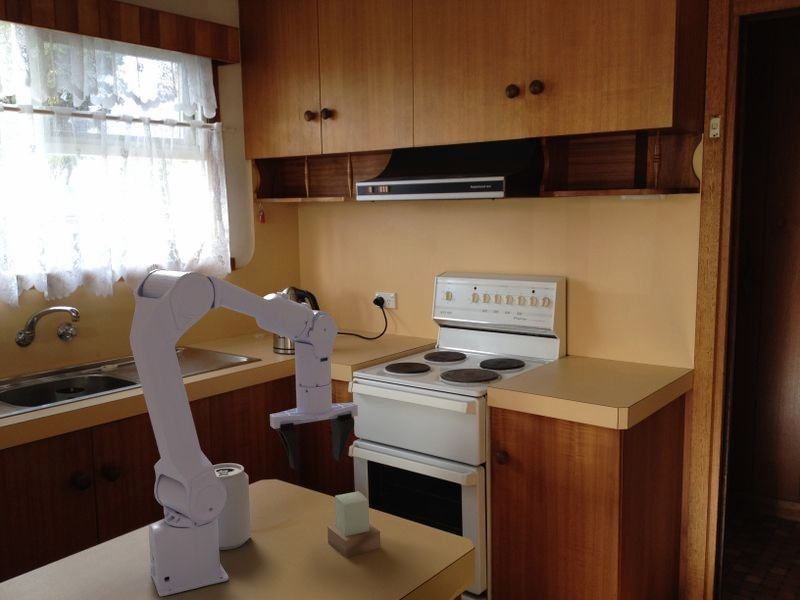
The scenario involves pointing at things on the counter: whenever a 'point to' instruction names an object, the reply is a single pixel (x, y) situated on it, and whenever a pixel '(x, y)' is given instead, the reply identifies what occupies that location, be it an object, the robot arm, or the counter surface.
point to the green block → (352, 513)
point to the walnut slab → (354, 541)
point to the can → (234, 506)
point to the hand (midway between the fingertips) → (316, 463)
